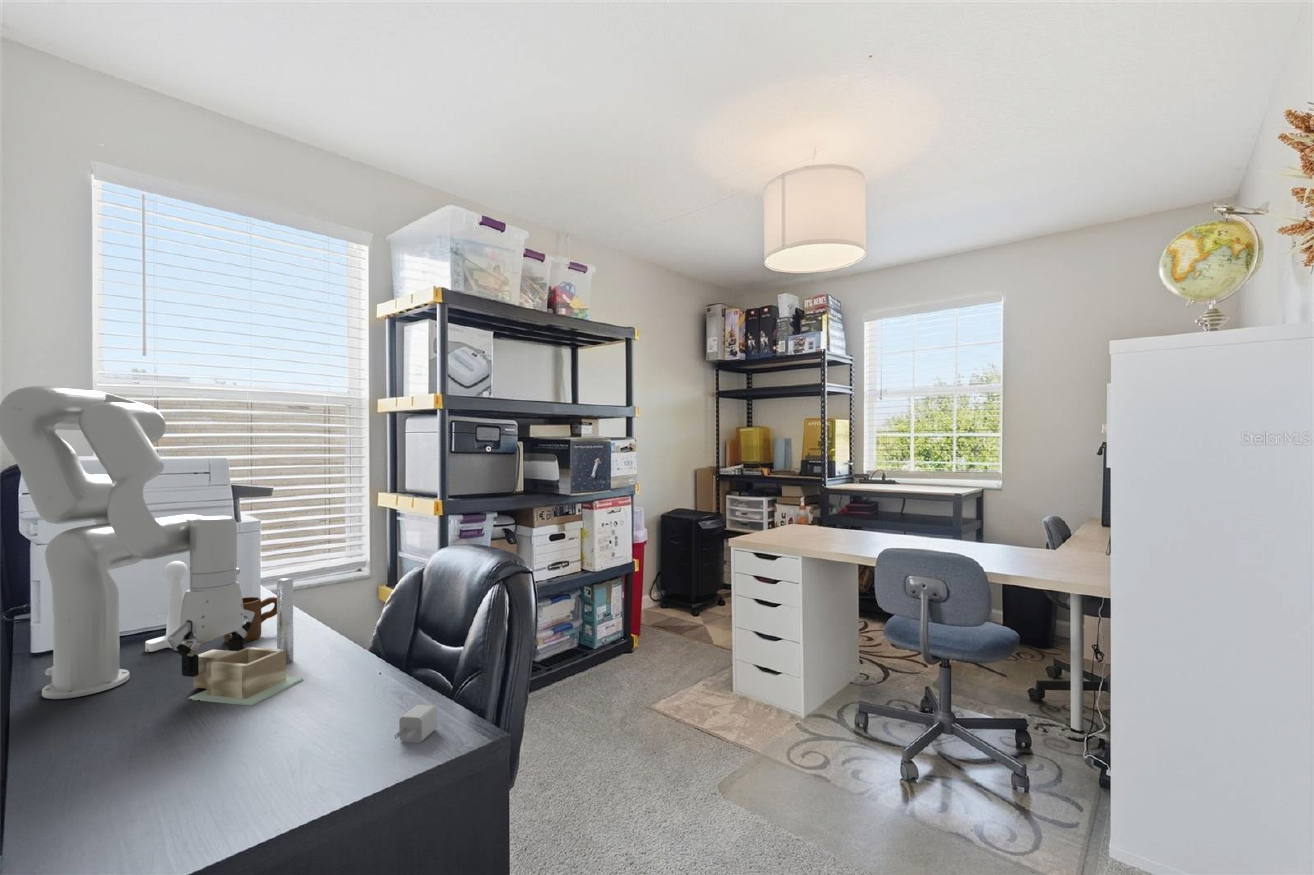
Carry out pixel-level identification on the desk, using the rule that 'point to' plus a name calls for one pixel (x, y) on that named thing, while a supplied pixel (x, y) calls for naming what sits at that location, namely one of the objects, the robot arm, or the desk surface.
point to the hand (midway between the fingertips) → (214, 666)
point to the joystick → (171, 604)
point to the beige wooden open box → (240, 671)
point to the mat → (251, 700)
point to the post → (285, 617)
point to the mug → (256, 616)
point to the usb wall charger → (417, 723)
